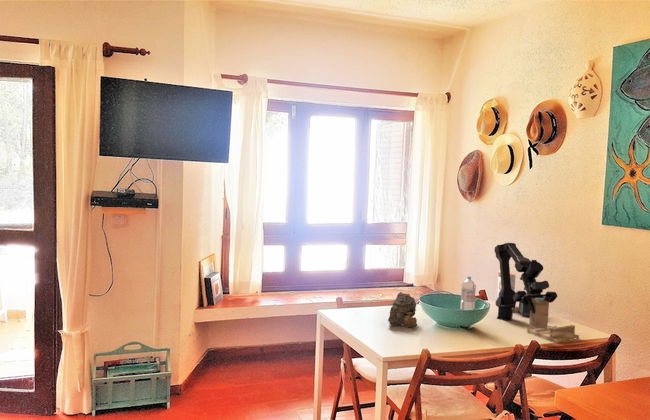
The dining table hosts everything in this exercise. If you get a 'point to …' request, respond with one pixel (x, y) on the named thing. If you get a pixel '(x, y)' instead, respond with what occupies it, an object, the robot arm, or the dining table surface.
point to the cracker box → (512, 277)
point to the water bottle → (468, 295)
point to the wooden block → (539, 313)
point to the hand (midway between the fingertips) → (540, 313)
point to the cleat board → (555, 333)
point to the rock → (403, 311)
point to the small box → (524, 310)
